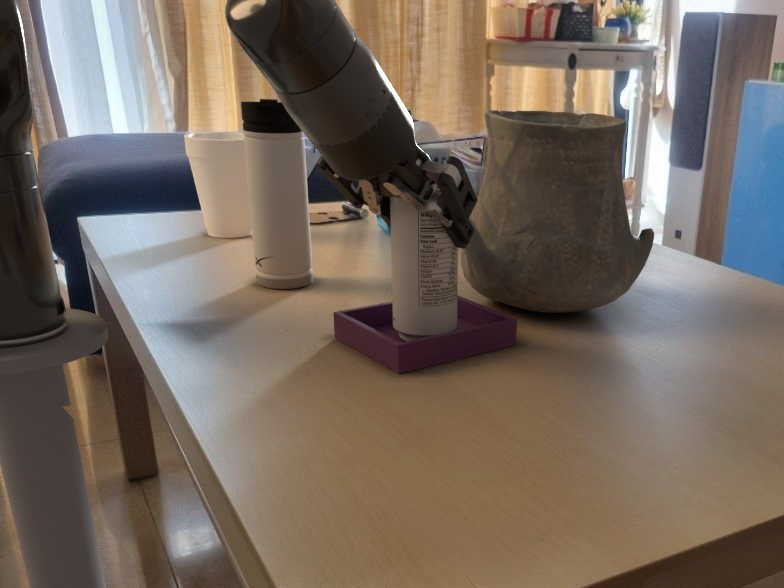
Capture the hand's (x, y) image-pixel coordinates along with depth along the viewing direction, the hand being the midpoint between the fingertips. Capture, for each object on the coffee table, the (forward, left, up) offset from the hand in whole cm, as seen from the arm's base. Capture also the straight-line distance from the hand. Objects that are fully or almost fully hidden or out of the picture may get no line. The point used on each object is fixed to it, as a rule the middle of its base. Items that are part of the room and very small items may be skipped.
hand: (435, 234), depth 77 cm
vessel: (+18, +4, -10) cm, 21 cm away
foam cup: (+2, +52, -10) cm, 53 cm away
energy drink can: (-2, -1, -9) cm, 10 cm away
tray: (-1, -1, -10) cm, 10 cm away
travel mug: (-3, +25, -10) cm, 27 cm away
